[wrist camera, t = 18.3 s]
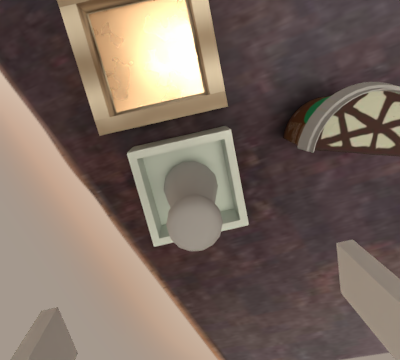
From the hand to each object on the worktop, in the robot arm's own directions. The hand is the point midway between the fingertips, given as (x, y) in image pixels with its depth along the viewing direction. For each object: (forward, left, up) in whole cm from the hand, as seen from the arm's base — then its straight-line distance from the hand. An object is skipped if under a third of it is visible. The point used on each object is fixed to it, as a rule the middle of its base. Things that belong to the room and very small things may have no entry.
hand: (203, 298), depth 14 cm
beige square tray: (-14, -1, -22) cm, 26 cm away
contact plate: (-14, -1, -22) cm, 26 cm away
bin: (0, 0, -22) cm, 22 cm away
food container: (-4, +17, -22) cm, 28 cm away
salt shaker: (0, 0, -21) cm, 21 cm away
